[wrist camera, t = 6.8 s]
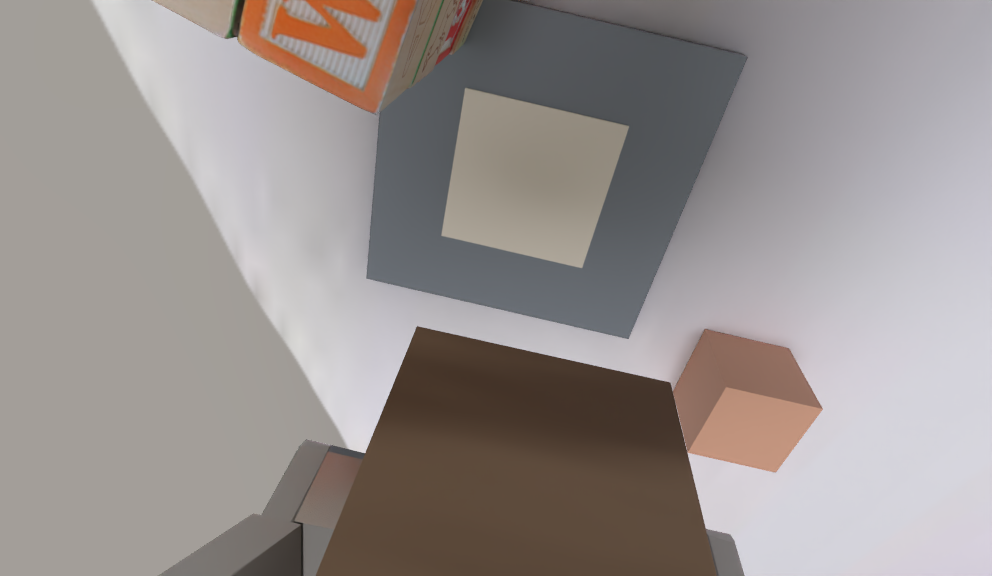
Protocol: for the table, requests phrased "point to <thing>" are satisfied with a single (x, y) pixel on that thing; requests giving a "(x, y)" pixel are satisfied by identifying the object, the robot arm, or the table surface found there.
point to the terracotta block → (743, 401)
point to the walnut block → (520, 472)
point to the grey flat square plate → (545, 165)
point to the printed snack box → (342, 39)
